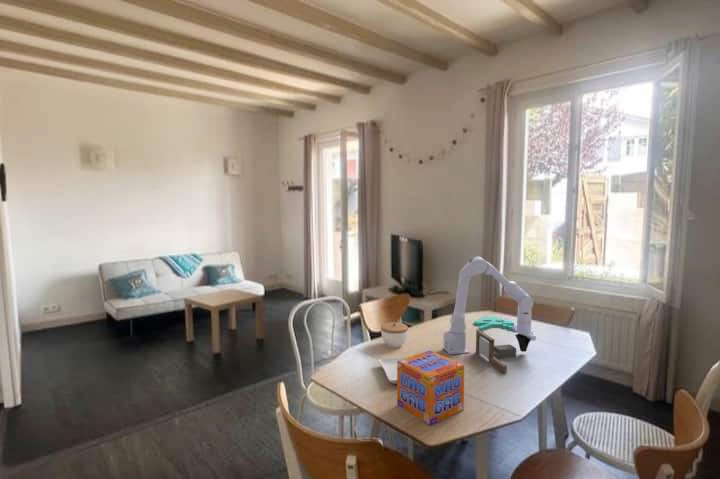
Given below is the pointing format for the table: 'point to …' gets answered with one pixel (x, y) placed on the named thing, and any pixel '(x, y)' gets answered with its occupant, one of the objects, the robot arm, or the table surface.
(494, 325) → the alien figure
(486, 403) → the table surface
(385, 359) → the salad plate
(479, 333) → the doorway frame
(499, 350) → the tall grey block
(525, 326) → the robot arm
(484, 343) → the flap
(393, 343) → the lidded bowl
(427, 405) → the game box
